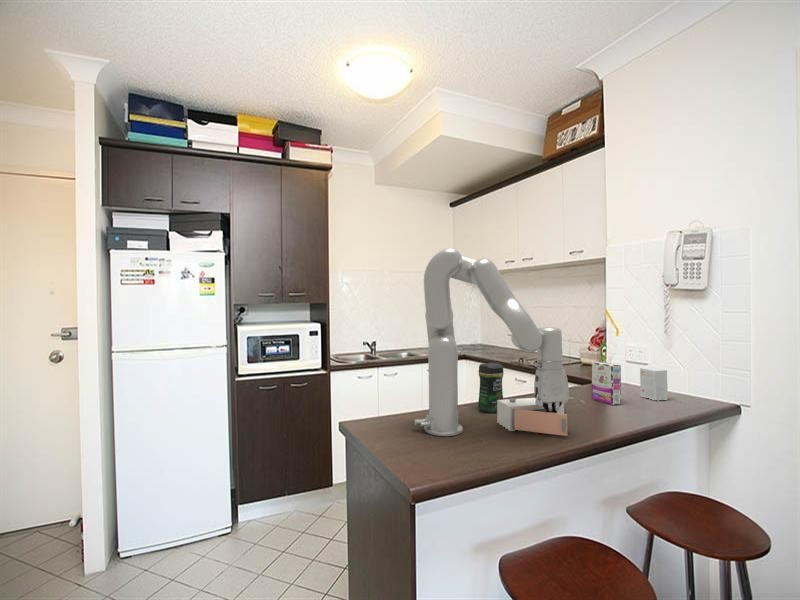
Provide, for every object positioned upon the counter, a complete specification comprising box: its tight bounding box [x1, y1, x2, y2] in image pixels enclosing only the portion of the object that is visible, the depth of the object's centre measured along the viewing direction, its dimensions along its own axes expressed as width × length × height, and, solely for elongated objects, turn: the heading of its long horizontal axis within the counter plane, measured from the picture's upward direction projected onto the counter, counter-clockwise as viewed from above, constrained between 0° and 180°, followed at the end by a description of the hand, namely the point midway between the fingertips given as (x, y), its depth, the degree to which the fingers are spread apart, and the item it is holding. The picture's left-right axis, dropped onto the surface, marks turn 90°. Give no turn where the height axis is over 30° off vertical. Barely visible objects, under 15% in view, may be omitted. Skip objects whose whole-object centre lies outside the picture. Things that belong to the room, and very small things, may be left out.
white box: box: [496, 397, 568, 432], centre depth 132 cm, size 22×9×9 cm, turn 102°
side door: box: [512, 409, 568, 437], centre depth 121 cm, size 16×2×6 cm, turn 67°
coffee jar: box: [477, 362, 505, 413], centre depth 150 cm, size 10×8×19 cm
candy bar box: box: [591, 361, 622, 406], centre depth 162 cm, size 11×5×16 cm, turn 17°
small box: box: [639, 367, 669, 401], centre depth 167 cm, size 8×6×13 cm
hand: (551, 422), depth 123 cm, fingers closed
